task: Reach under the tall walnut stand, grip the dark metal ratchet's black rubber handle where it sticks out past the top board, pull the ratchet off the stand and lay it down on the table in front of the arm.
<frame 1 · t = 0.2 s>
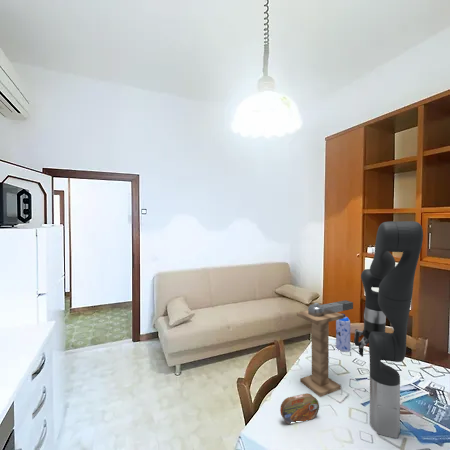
hand: (373, 357, 109), 18 cm above the table, tool pointing down, fingers open, 8 cm apart
walnut stand: (320, 385, 120), on the table
aerosol can: (343, 349, 155), on the table
ratchet: (331, 311, 123), point 32 cm above the table, touching walnut stand
tin: (299, 419, 100), on the table
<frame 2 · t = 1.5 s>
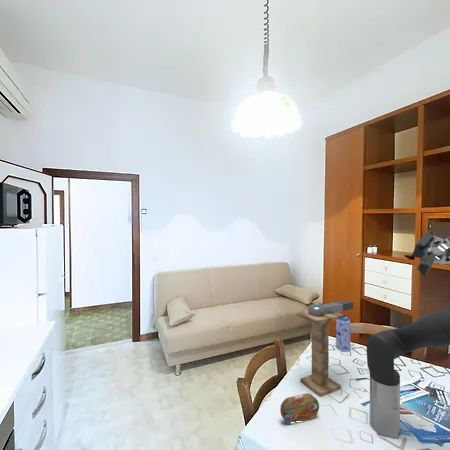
nothing on the table moved.
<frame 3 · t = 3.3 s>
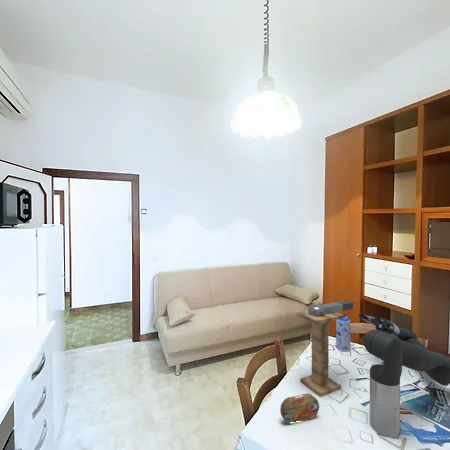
hand: (367, 316, 133), 26 cm above the table, tool pointing upward, fingers open, 8 cm apart
nothing on the table moved.
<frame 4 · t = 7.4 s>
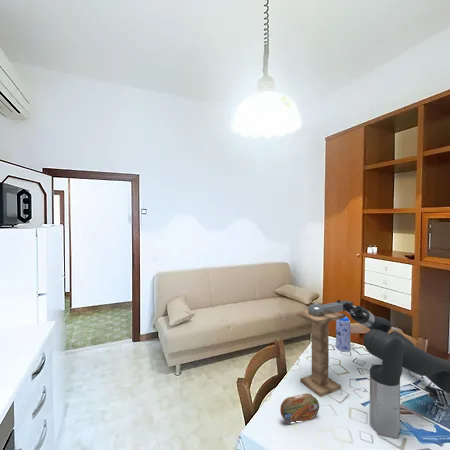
hand: (341, 303, 126), 35 cm above the table, tool pointing upward, fingers closed on ratchet, 4 cm apart
ratchet: (331, 311, 123), point 32 cm above the table, touching gripper, walnut stand
everything else where it was.
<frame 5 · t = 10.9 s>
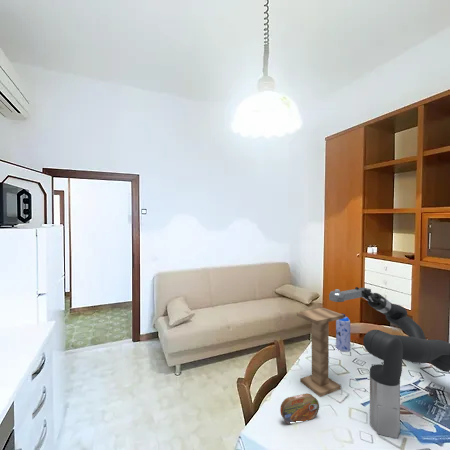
hand: (359, 289, 132), 40 cm above the table, tool pointing upward, fingers closed on ratchet, 4 cm apart
ratchet: (350, 297, 129), point 37 cm above the table, touching gripper
everything else where it was.
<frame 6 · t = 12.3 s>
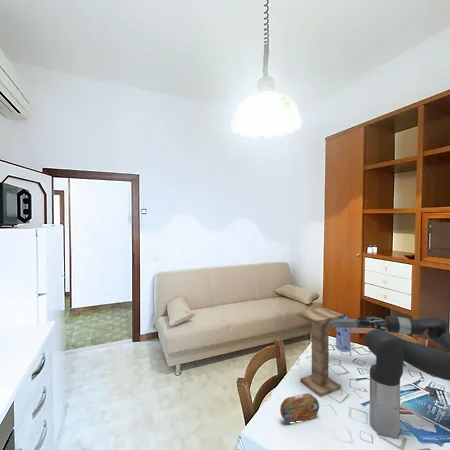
hand: (359, 321, 135), 23 cm above the table, tool horizontal, fingers closed on ratchet, 4 cm apart
ratchet: (345, 326, 137), point 20 cm above the table, touching gripper
everything else where it was.
when the fingers open (13 cm above the table, at t = 14.5 s): ratchet drops 10 cm, on the table.
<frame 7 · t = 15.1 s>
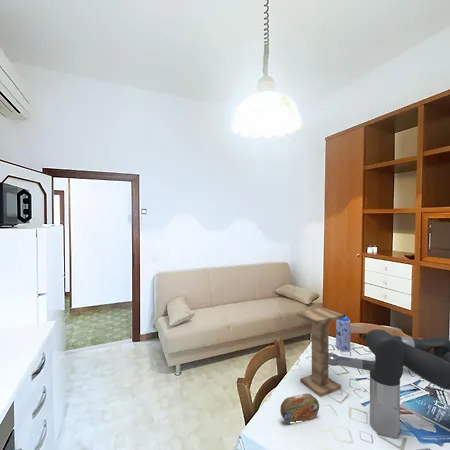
hand: (364, 340, 135), 14 cm above the table, tool horizontal, fingers open, 8 cm apart
ratchet: (351, 365, 137), on the table
everything else where it was.
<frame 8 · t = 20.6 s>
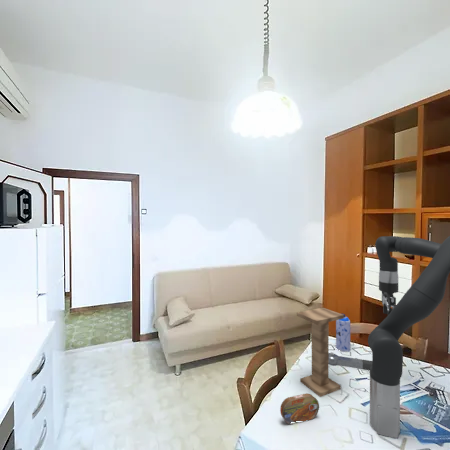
hand: (388, 316, 121), 30 cm above the table, tool pointing down, fingers open, 8 cm apart
nothing on the table moved.
at the end: ratchet inside the target area (1.2 cm from its centre), on the table; the gripper is holding nothing; ratchet touching table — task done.
